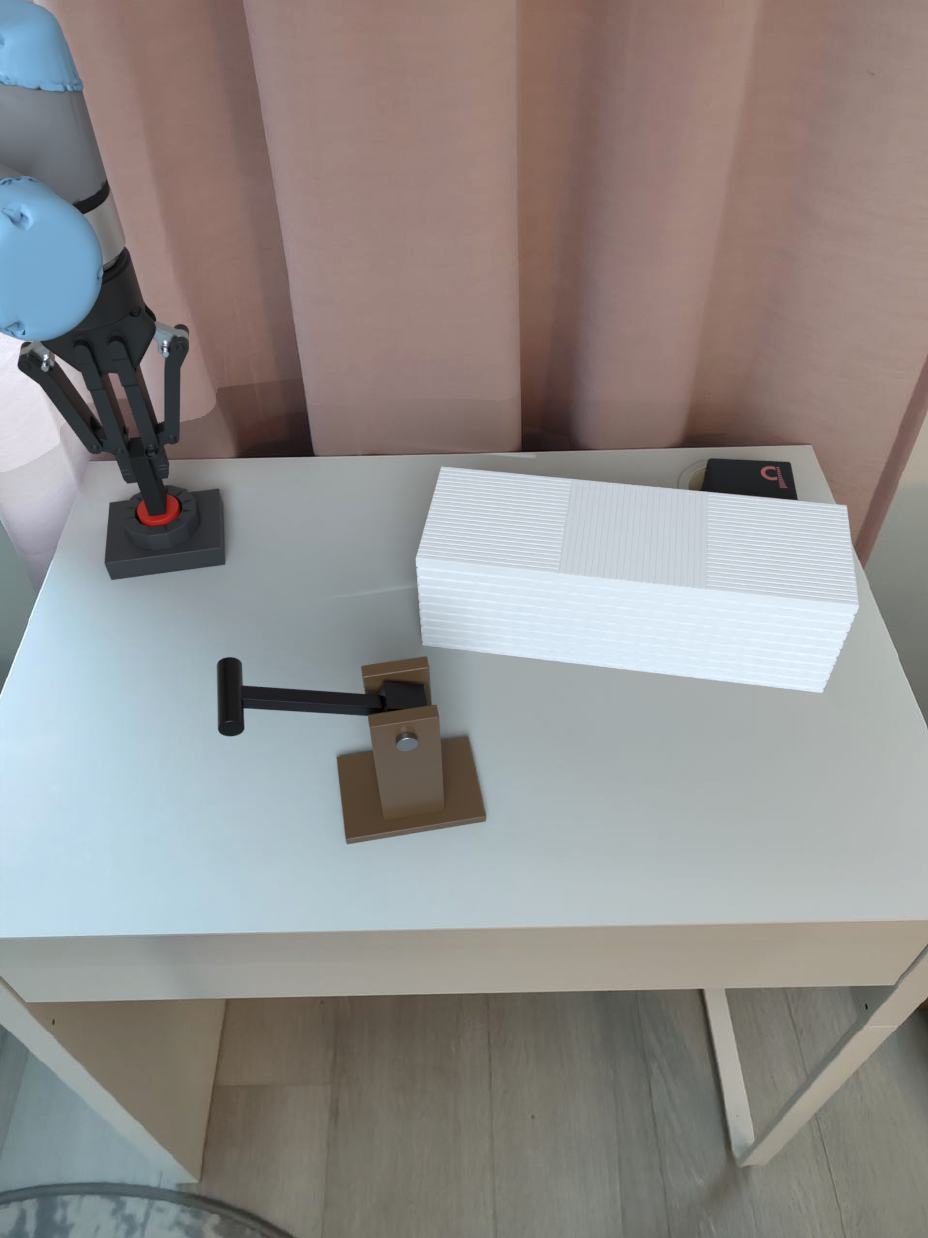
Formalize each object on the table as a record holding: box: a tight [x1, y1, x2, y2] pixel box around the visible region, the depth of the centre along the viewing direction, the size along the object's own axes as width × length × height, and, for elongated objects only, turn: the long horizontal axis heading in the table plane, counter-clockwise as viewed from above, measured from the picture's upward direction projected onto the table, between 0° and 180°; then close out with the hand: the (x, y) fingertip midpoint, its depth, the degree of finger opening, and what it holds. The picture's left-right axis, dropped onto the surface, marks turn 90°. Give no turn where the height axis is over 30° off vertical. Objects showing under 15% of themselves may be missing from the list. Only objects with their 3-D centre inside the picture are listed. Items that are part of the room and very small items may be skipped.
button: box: [137, 494, 181, 527], centre depth 89 cm, size 4×4×2 cm
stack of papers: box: [415, 465, 860, 694], centre depth 80 cm, size 32×11×11 cm, turn 81°
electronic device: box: [700, 457, 799, 501], centre depth 88 cm, size 7×11×5 cm
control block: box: [104, 484, 226, 581], centre depth 90 cm, size 10×8×4 cm
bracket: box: [336, 655, 487, 845], centre depth 69 cm, size 10×7×13 cm
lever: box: [216, 656, 428, 737], centre depth 63 cm, size 13×5×2 cm, turn 100°
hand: (157, 504), depth 88 cm, fingers closed
